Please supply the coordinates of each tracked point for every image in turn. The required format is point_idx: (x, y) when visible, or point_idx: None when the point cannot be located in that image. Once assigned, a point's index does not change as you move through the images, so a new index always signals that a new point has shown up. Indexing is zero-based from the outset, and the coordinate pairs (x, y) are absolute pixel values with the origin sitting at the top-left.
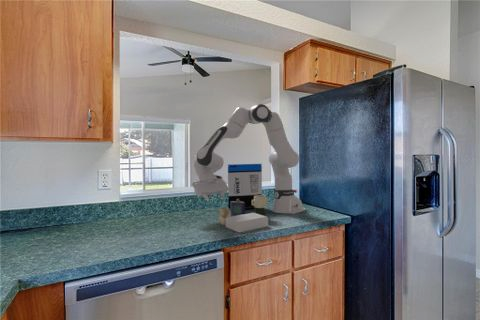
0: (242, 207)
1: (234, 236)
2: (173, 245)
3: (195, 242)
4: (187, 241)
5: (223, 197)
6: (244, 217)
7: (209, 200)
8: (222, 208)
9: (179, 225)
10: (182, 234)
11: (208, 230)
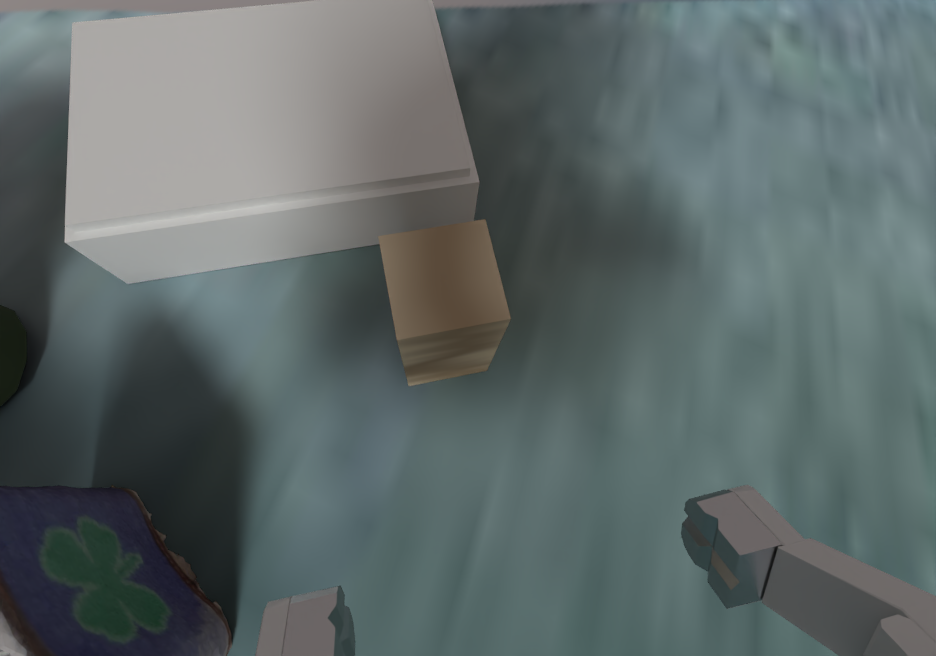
0: (23, 494)
1: (494, 14)
2: (876, 29)
3: (752, 21)
4: (799, 53)
5: (309, 596)
6: (302, 85)
7: (689, 517)
8: (465, 302)
9: (891, 467)
10: (840, 190)
11: (637, 200)
